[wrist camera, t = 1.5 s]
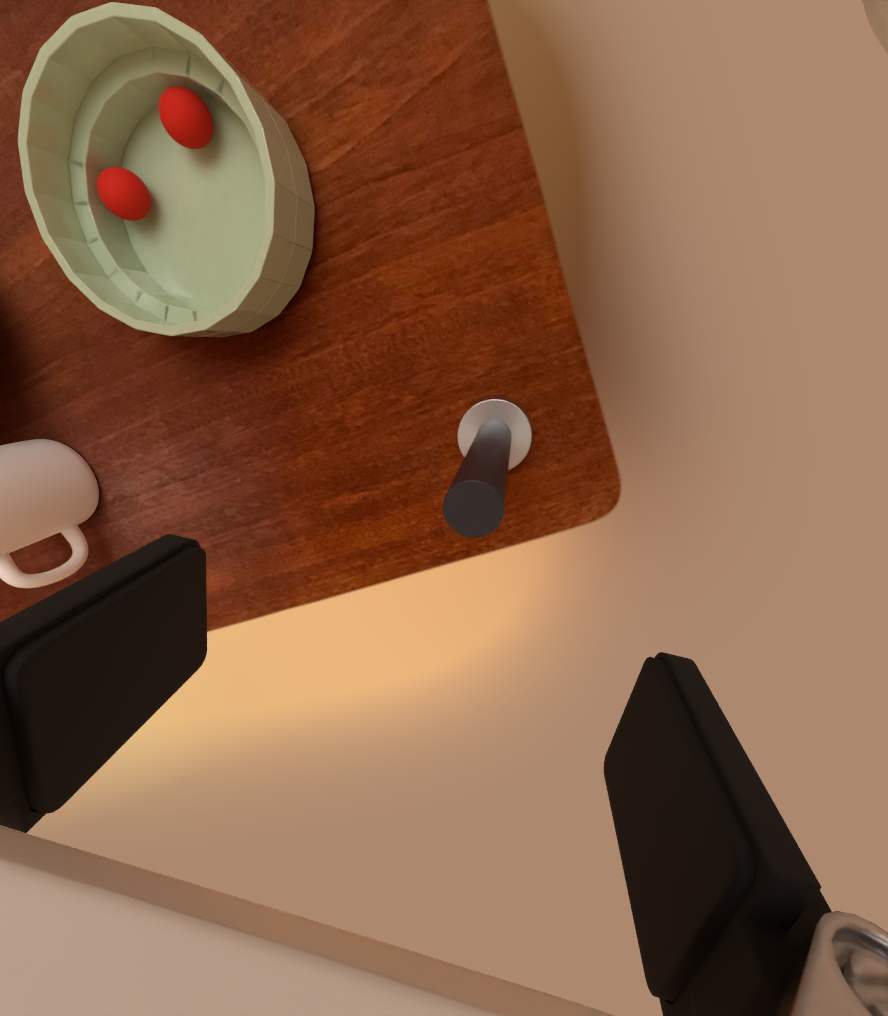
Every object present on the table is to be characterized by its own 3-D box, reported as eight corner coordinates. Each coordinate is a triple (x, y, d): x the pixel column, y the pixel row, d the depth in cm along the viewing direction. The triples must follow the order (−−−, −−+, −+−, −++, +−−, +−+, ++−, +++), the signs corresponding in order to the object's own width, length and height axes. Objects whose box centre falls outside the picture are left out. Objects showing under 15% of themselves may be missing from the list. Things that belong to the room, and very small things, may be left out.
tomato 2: (223, 104, 29) (191, 78, 26) (223, 159, 30) (193, 141, 27) (180, 97, 29) (144, 71, 27) (182, 153, 30) (148, 134, 28)
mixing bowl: (326, 85, 28) (279, 22, 23) (310, 353, 34) (269, 355, 29) (93, 53, 30) (-5, -14, 24) (115, 316, 36) (40, 310, 30)
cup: (59, 420, 40) (-85, 444, 30) (144, 535, 42) (37, 589, 33) (4, 461, 42) (-145, 495, 33) (88, 567, 45) (-27, 627, 35)
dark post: (538, 402, 33) (556, 459, 16) (522, 470, 35) (523, 582, 18) (468, 388, 33) (418, 430, 17) (455, 456, 35) (399, 553, 19)
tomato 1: (160, 179, 31) (125, 163, 28) (162, 228, 32) (129, 217, 30) (120, 172, 32) (82, 156, 29) (124, 222, 33) (87, 210, 30)
